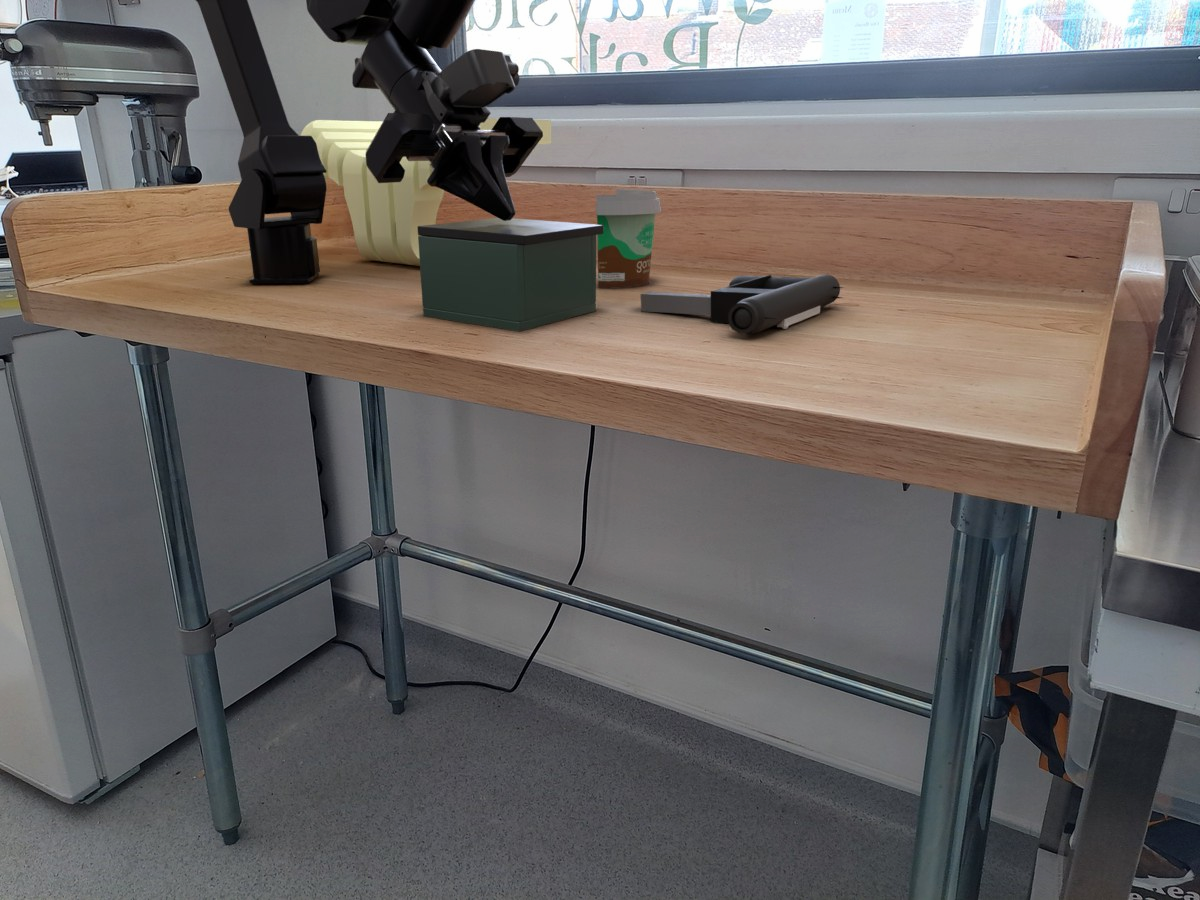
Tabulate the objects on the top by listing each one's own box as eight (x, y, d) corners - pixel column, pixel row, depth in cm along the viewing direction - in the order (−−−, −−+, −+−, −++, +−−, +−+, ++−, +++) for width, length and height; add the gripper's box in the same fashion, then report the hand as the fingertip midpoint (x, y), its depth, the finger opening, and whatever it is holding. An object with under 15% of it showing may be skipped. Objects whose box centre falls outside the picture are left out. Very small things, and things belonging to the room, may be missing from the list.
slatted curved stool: (310, 257, 118) (296, 119, 112) (399, 246, 130) (389, 121, 124) (468, 277, 101) (461, 117, 95) (552, 263, 114) (550, 120, 108)
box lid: (603, 233, 79) (603, 225, 79) (524, 245, 70) (524, 235, 70) (501, 225, 86) (501, 217, 86) (417, 235, 77) (417, 226, 77)
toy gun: (605, 293, 77) (771, 302, 68) (710, 269, 93) (856, 273, 84) (607, 330, 78) (770, 343, 69) (710, 299, 94) (854, 307, 85)
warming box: (596, 311, 82) (596, 233, 80) (519, 331, 73) (517, 244, 71) (504, 298, 88) (501, 226, 86) (423, 316, 79) (417, 235, 77)
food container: (650, 292, 93) (653, 196, 89) (595, 289, 94) (595, 195, 90) (665, 275, 104) (668, 189, 101) (615, 273, 105) (617, 188, 102)
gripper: (377, 3, 68) (487, 153, 66) (526, 28, 82) (620, 151, 80) (322, 110, 74) (420, 249, 72) (468, 116, 89) (553, 232, 87)
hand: (510, 217), depth 78 cm, fingers closed
